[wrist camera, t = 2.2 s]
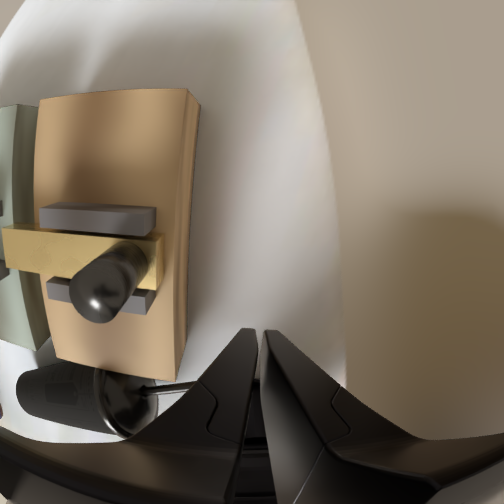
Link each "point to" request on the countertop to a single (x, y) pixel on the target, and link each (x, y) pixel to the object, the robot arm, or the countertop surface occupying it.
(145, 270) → the bolt
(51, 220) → the frame
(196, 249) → the countertop surface
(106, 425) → the drinking cup
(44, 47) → the countertop surface
